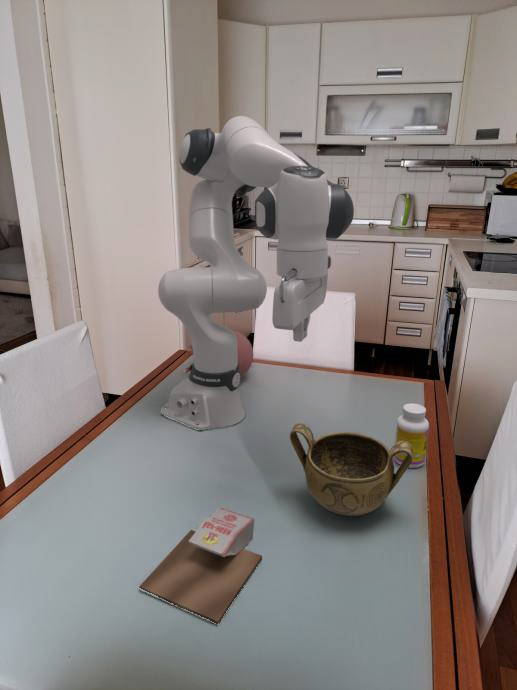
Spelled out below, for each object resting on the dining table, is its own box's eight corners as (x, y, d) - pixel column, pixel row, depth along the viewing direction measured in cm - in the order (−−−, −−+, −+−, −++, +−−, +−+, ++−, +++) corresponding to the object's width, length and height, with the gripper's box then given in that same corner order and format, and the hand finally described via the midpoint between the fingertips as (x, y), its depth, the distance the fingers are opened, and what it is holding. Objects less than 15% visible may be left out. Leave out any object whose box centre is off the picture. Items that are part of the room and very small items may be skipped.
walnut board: (139, 590, 76) (139, 586, 75) (191, 533, 87) (191, 529, 87) (217, 625, 70) (217, 621, 69) (262, 559, 81) (262, 555, 81)
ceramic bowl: (277, 517, 91) (278, 446, 86) (301, 468, 106) (303, 405, 101) (402, 545, 84) (411, 470, 79) (409, 488, 99) (416, 422, 94)
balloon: (201, 365, 163) (199, 320, 158) (259, 371, 157) (259, 325, 152) (181, 383, 149) (178, 335, 144) (244, 391, 143) (243, 341, 138)
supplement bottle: (426, 470, 105) (433, 416, 101) (394, 467, 106) (399, 414, 102) (423, 454, 111) (429, 402, 107) (392, 451, 112) (397, 400, 108)
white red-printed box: (252, 538, 86) (222, 567, 77) (219, 526, 89) (187, 553, 80) (254, 519, 85) (224, 545, 77) (221, 507, 88) (188, 531, 80)
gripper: (300, 277, 76) (298, 360, 81) (333, 256, 94) (331, 325, 99) (262, 274, 79) (263, 355, 83) (302, 254, 96) (300, 322, 101)
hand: (300, 339), depth 91 cm, fingers closed
